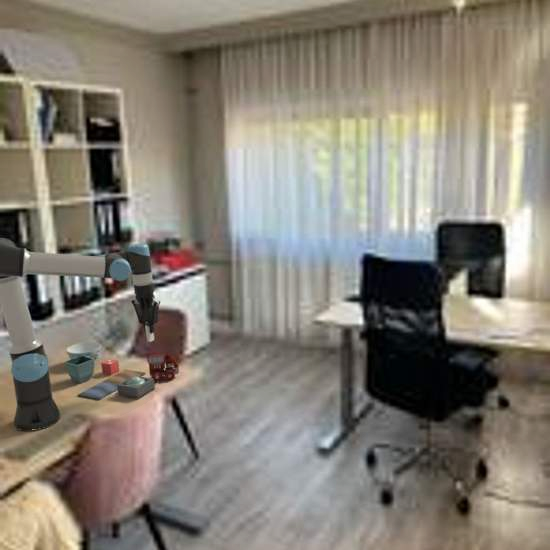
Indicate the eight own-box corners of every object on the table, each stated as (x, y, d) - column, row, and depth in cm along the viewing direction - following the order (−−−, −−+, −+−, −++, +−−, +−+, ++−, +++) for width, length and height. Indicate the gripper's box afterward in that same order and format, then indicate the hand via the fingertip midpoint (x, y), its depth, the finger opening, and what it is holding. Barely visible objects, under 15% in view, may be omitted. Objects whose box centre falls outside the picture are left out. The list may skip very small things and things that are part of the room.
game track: (99, 400, 222) (99, 398, 222) (77, 396, 227) (77, 394, 227) (145, 373, 246) (145, 372, 246) (125, 370, 251) (125, 369, 251)
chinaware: (71, 372, 252) (69, 355, 251) (65, 362, 265) (63, 346, 264) (106, 365, 259) (104, 348, 258) (99, 355, 272) (97, 339, 271)
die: (111, 375, 246) (110, 364, 245) (102, 374, 249) (101, 362, 248) (119, 371, 251) (118, 360, 250) (110, 369, 253) (109, 358, 252)
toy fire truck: (179, 379, 239) (177, 355, 236) (148, 383, 237) (146, 358, 234) (179, 373, 245) (177, 350, 243) (149, 376, 243) (147, 353, 241)
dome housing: (138, 399, 221) (137, 388, 220) (118, 395, 225) (116, 384, 224) (154, 389, 230) (153, 378, 229) (134, 385, 234) (133, 375, 233)
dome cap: (137, 393, 223) (136, 381, 222) (123, 391, 226) (122, 379, 225) (149, 386, 229) (147, 374, 228) (134, 384, 232) (133, 372, 231)
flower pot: (79, 386, 237) (76, 365, 235) (66, 381, 242) (63, 361, 240) (97, 379, 243) (94, 358, 242) (84, 374, 249) (82, 355, 247)
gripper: (162, 281, 226) (169, 339, 231) (136, 280, 232) (144, 336, 237) (150, 286, 220) (157, 345, 225) (123, 284, 226) (131, 342, 231)
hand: (150, 340), depth 231 cm, fingers closed
